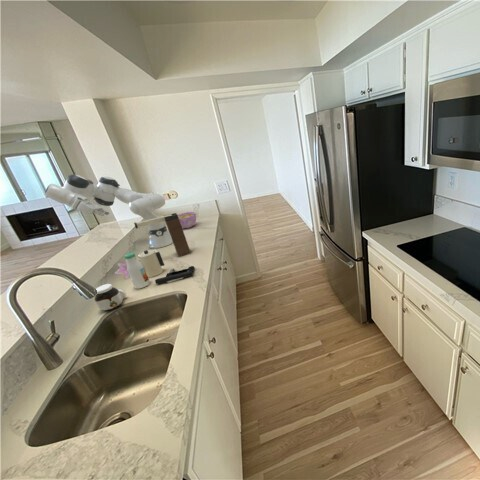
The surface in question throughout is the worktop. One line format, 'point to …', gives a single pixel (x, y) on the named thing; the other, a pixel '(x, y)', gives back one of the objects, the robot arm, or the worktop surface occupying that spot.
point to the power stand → (177, 234)
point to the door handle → (176, 275)
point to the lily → (123, 269)
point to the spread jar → (109, 297)
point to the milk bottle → (136, 272)
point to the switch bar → (150, 221)
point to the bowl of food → (187, 219)
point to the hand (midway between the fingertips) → (106, 214)
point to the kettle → (151, 262)
